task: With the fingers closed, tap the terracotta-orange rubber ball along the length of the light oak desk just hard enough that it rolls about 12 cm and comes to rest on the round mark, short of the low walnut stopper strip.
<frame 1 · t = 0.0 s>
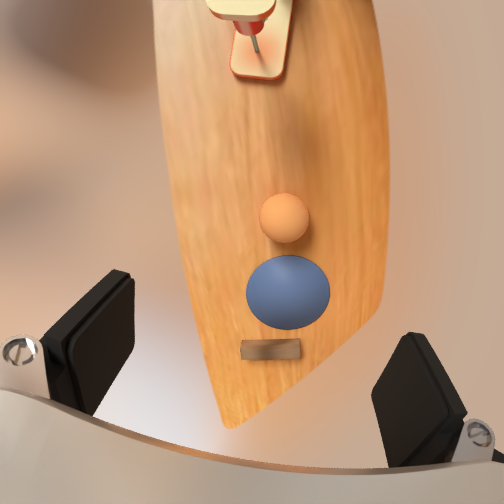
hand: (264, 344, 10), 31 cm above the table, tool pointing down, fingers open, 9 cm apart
ball: (284, 217, 37), on the table
mark: (288, 294, 44), on the table
stopper strip: (270, 344, 47), on the table
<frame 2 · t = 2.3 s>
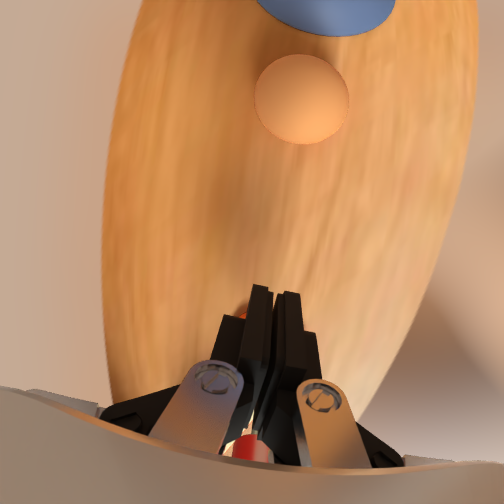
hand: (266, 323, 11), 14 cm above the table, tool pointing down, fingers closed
ball: (301, 98, 18), on the table
crank mechanism: (226, 401, 31), on the table
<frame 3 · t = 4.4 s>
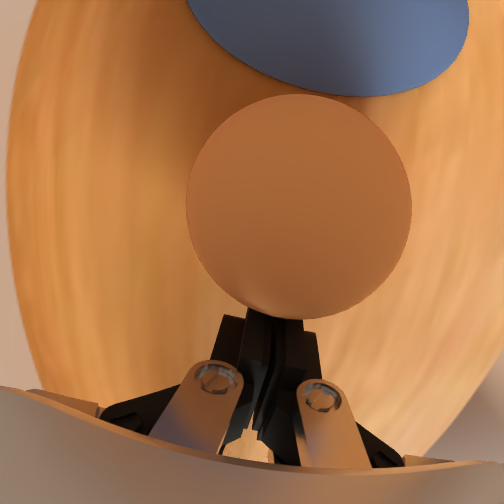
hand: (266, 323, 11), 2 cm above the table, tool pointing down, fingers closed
ball: (299, 205, 8), on the table
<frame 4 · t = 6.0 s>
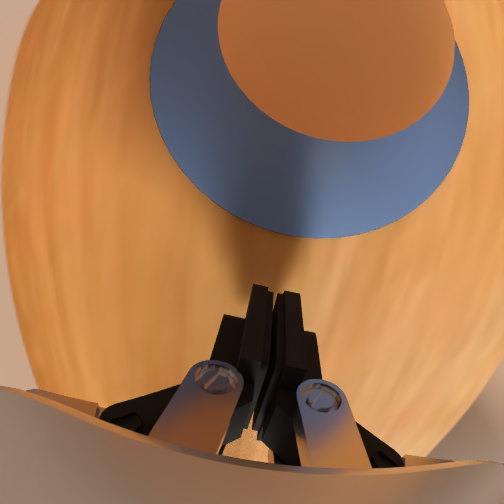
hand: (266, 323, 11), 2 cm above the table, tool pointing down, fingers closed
ball: (337, 32, 6), on the table
mark: (320, 71, 9), on the table
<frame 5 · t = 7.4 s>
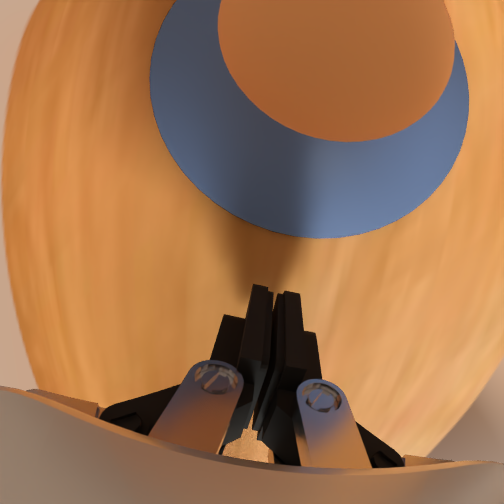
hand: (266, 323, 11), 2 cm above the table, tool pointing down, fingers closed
ball: (337, 32, 6), on the table
mark: (320, 71, 9), on the table
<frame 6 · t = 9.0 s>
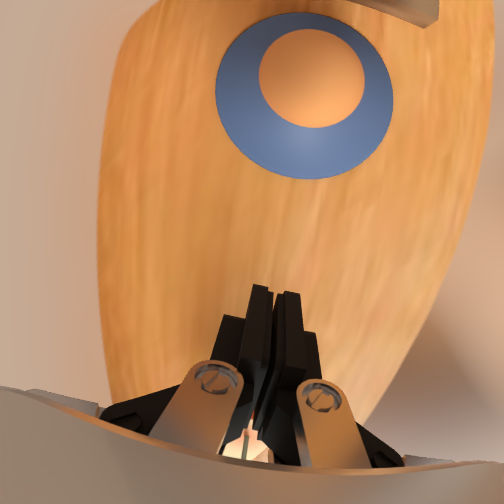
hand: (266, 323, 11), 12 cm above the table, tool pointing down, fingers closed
ball: (312, 77, 15), on the table
crank mechanism: (219, 454, 35), on the table
mark: (306, 91, 18), on the table
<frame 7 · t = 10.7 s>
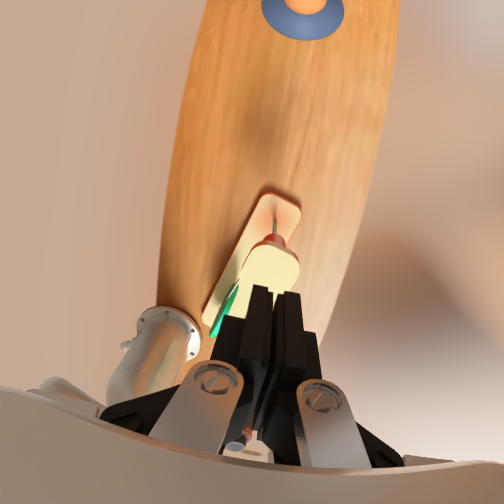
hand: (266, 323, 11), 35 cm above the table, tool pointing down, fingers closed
crank mechanism: (247, 267, 49), on the table
mark: (303, 6, 33), on the table
supplement bottle: (241, 404, 61), on the table
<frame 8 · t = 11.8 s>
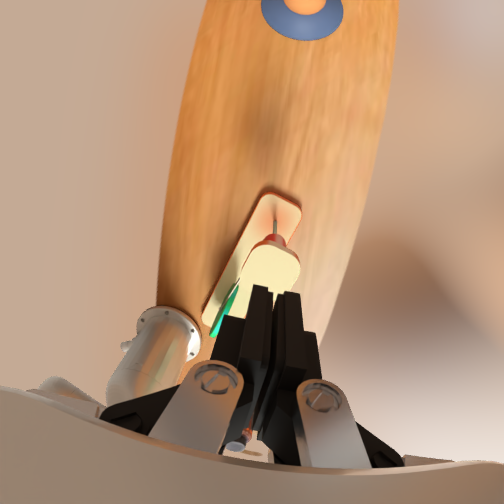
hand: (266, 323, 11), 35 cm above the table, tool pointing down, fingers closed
crank mechanism: (248, 267, 49), on the table
mark: (302, 6, 34), on the table
supplement bottle: (241, 404, 61), on the table
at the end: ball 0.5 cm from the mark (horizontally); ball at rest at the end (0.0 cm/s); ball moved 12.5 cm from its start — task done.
